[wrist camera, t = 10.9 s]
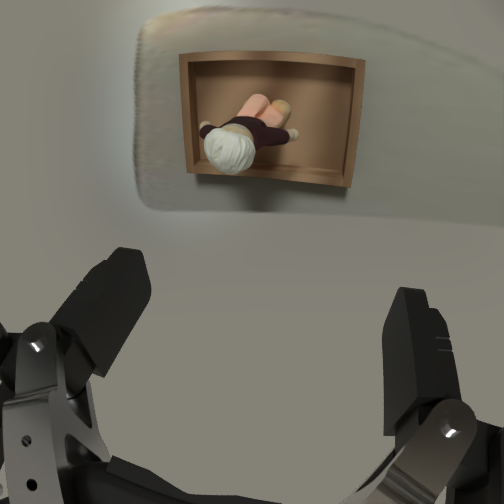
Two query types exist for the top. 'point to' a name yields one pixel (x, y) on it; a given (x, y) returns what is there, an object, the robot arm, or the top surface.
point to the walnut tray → (274, 88)
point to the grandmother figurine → (247, 134)
